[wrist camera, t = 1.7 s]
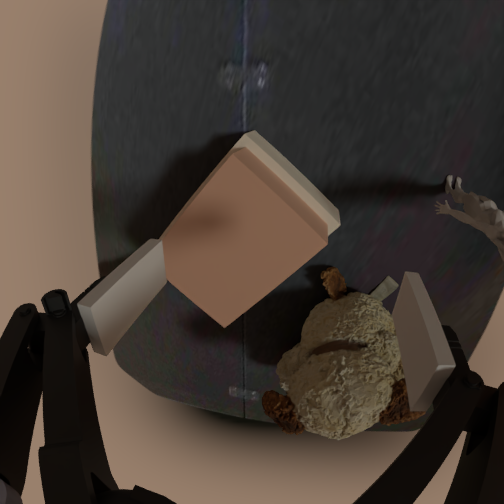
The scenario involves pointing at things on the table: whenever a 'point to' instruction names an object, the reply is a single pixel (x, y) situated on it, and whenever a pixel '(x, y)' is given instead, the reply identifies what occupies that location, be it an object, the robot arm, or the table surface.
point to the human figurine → (476, 213)
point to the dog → (342, 367)
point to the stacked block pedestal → (245, 230)
